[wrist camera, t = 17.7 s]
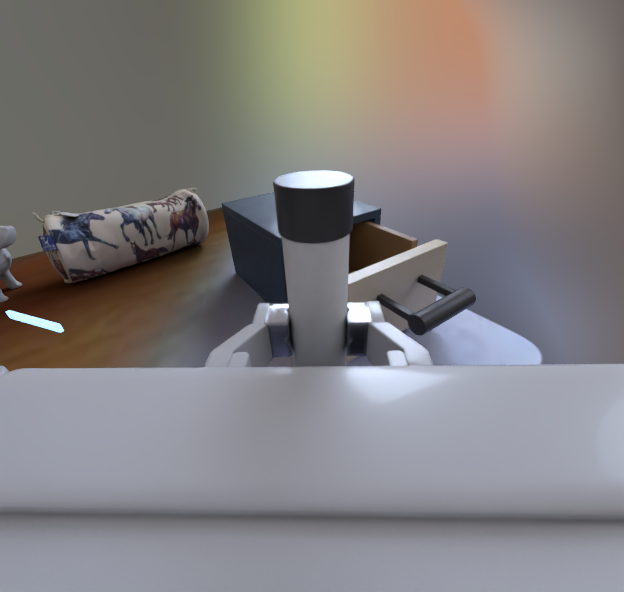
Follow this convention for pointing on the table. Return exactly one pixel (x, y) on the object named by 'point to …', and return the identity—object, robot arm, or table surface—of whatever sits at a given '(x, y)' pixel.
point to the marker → (316, 261)
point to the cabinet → (267, 242)
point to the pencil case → (122, 234)
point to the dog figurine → (6, 259)
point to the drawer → (402, 278)
